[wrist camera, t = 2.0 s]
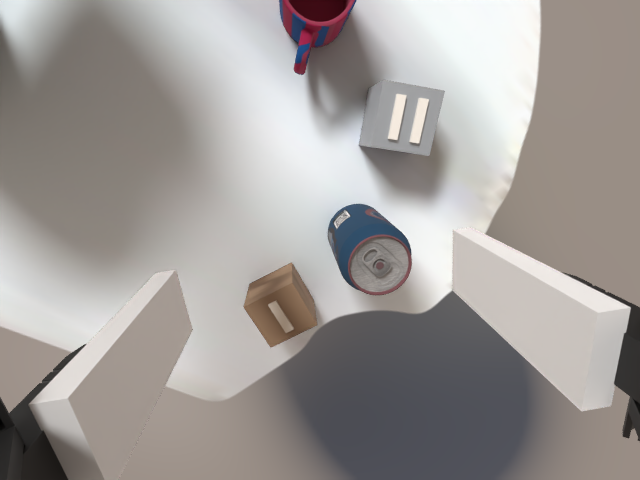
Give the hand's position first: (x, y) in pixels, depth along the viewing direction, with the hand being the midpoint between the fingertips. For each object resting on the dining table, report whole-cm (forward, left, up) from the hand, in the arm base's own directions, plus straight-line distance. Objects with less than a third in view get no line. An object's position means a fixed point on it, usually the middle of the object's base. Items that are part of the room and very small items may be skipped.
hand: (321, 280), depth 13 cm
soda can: (+6, -6, -26) cm, 28 cm away
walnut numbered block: (-4, -13, -26) cm, 30 cm away
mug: (+3, +16, -26) cm, 31 cm away
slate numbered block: (+11, +6, -26) cm, 29 cm away
